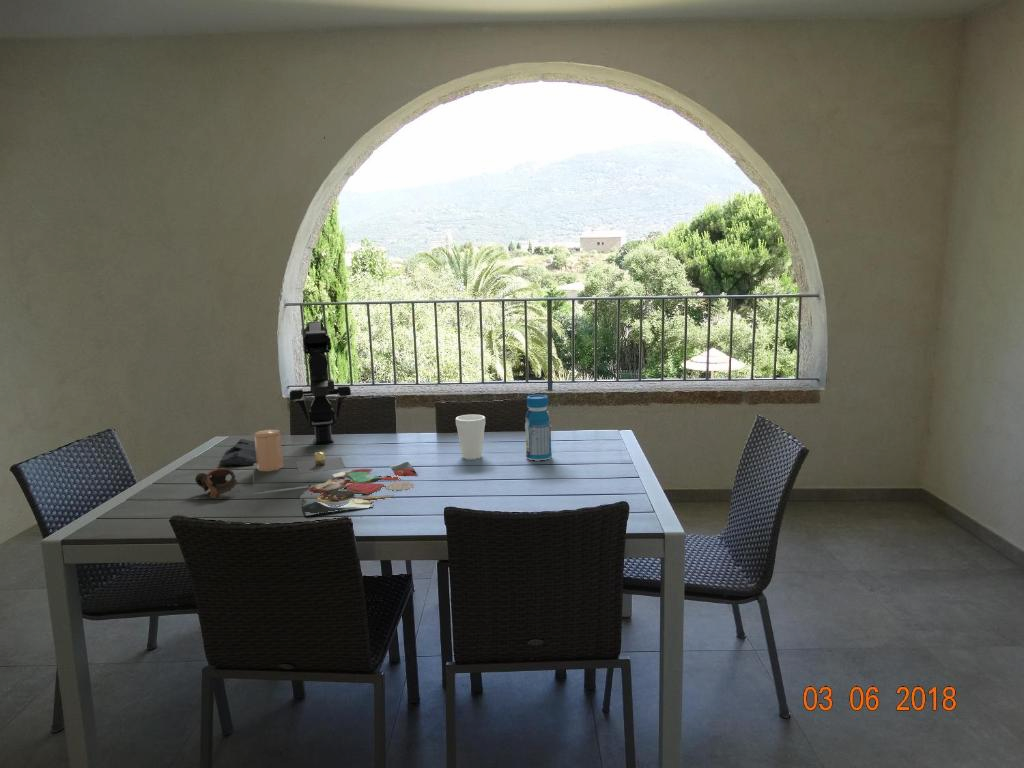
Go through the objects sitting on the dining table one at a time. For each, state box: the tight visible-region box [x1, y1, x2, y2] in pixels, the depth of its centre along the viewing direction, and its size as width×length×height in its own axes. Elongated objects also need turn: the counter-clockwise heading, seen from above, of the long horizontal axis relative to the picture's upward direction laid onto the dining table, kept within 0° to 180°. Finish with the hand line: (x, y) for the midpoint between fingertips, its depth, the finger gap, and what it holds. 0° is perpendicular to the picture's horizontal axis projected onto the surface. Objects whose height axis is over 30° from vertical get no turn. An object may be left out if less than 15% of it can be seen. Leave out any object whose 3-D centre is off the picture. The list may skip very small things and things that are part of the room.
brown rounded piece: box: [194, 467, 239, 499], centre depth 209 cm, size 12×10×8 cm
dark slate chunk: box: [219, 438, 257, 466], centre depth 247 cm, size 15×22×5 cm
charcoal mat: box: [296, 456, 346, 474], centre depth 233 cm, size 14×14×1 cm
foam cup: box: [455, 414, 486, 460], centre depth 238 cm, size 10×9×13 cm
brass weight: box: [314, 451, 326, 466], centre depth 233 cm, size 3×3×4 cm
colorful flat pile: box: [301, 461, 419, 514], centre depth 209 cm, size 35×35×2 cm
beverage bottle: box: [524, 394, 553, 462], centre depth 233 cm, size 8×8×20 cm
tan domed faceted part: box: [253, 429, 284, 472], centre depth 231 cm, size 7×7×12 cm
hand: (322, 419), depth 236 cm, fingers open, 9 cm apart
